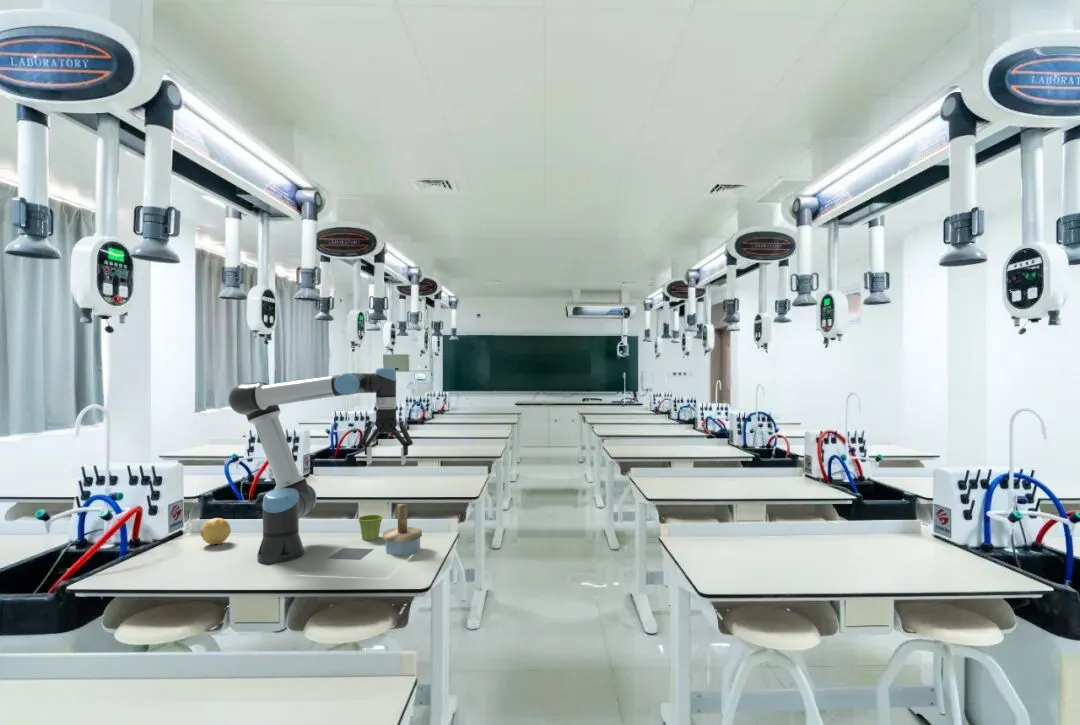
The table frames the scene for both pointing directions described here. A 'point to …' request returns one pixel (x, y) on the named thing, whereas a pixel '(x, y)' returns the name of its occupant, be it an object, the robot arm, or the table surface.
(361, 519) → the plant pot
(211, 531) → the potato
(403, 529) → the lid
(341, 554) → the mat
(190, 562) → the table surface
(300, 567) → the table surface
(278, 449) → the robot arm
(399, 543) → the bowl
